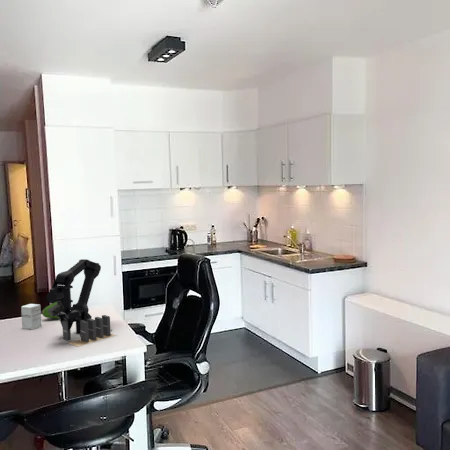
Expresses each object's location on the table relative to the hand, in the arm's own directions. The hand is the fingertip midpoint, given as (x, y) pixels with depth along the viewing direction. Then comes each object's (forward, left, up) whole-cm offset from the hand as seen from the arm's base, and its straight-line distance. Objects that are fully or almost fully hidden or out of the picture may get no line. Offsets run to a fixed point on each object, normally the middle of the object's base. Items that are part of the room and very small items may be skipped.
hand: (66, 328), depth 235 cm
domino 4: (+16, -2, -5) cm, 17 cm away
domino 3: (+12, -5, -5) cm, 14 cm away
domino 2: (+9, -7, -5) cm, 12 cm away
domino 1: (0, 0, -6) cm, 6 cm away
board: (+12, -5, -6) cm, 14 cm away
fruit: (-8, +46, -6) cm, 47 cm away
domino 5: (+19, 0, -5) cm, 20 cm away
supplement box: (-20, +32, -6) cm, 38 cm away
